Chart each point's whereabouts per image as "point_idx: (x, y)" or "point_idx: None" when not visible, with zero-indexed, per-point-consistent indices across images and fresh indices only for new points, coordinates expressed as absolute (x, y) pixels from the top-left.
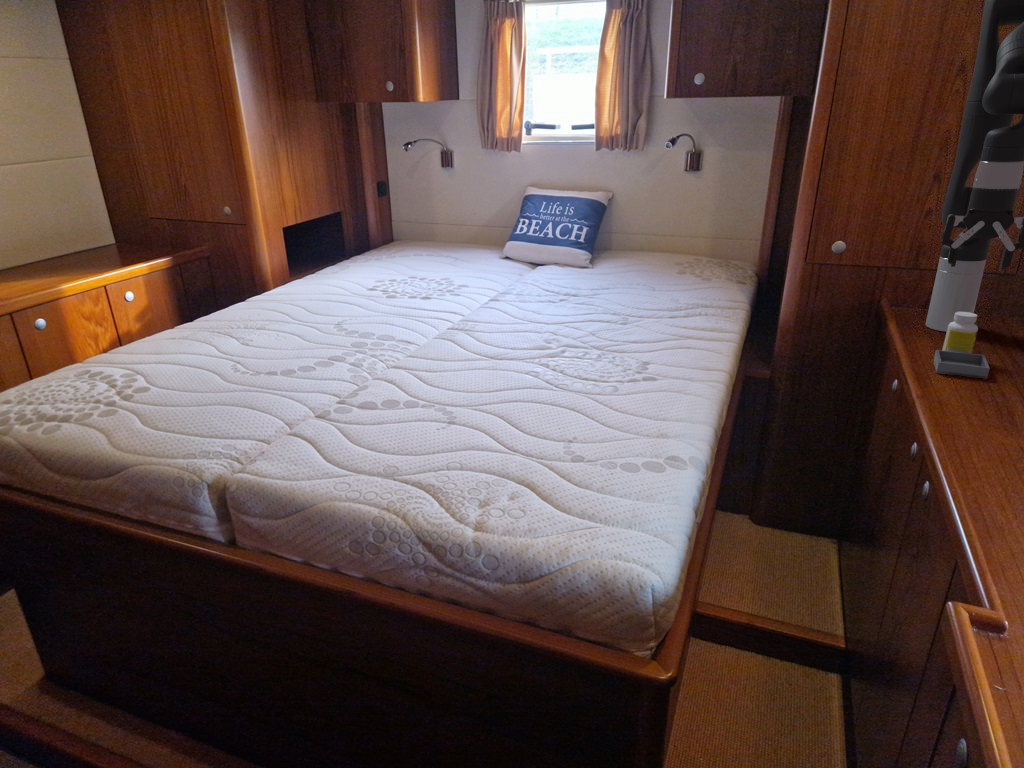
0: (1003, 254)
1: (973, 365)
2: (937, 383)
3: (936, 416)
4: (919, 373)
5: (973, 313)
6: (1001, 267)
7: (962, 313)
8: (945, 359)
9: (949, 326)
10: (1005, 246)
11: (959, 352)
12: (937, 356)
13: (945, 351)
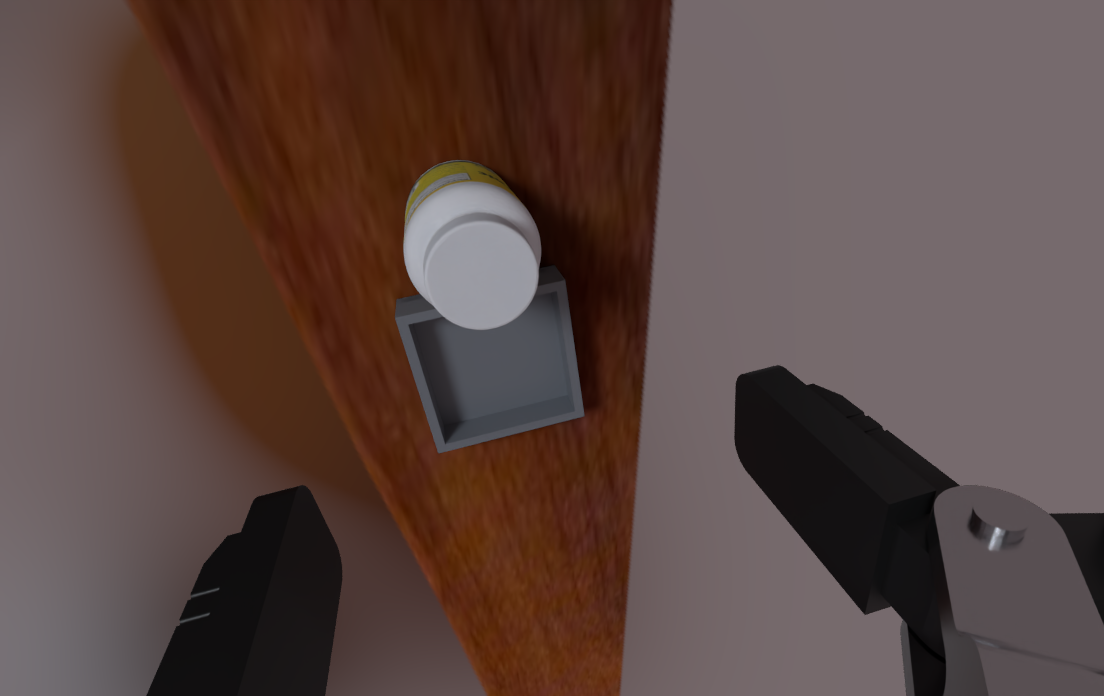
0: (836, 503)
1: (532, 313)
2: (457, 499)
3: (493, 659)
4: (393, 455)
5: (517, 241)
6: (746, 467)
7: (462, 273)
8: None
9: (416, 288)
10: (935, 562)
11: None
12: (420, 395)
13: (432, 318)
